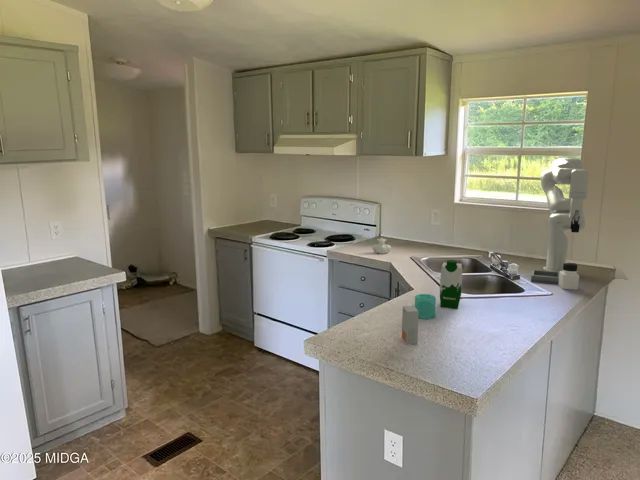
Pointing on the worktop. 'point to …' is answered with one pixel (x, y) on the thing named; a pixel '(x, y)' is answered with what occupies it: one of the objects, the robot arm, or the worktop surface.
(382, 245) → the white lobed vase
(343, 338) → the worktop surface
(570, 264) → the medicine bottle
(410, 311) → the skincare box
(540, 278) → the tray
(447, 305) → the milk carton
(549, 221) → the robot arm
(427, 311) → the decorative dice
